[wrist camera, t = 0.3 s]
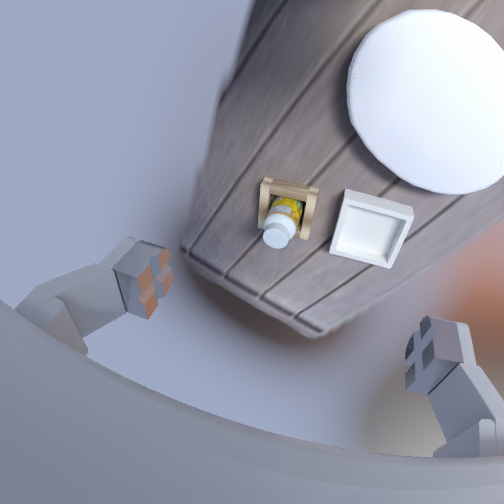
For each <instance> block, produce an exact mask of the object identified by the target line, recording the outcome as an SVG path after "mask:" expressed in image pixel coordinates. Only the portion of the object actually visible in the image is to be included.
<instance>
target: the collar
mask: <svg viewBox="0 0 504 504" xmlns="http://www.w3.org/2000/svg"><path fill="white" fill-rule="evenodd" d="M318 191H319V189H317V188H313V187H309V186H304V185H300V184H295V183H291V182H286V181H281V180H277V179H272V178H267V177H265V178H264V179H263V181H262V183H261V188H260V202H259V216H258V228H260V229H264V221H265V219H266V216H267V214H268V212H269V210H270V208H271V198H272V194H274V195H278V196H283V197H287V198H291V199H296V200H300V201H304V202H306V207H305V213H304V218H303V223H300V222H299V223H298V227H297V230H296V233H295V235H294V236H293V237H297V238H301V239H305V240H308V237H309V234H310V230H311V225H312V220H313V215H314V211H315V206H316V201H317V196H318Z"/></svg>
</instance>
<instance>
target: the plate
mask: <svg viewBox="0 0 504 504" xmlns="http://www.w3.org/2000/svg"><path fill="white" fill-rule="evenodd" d="M347 106H348V111H349V117H350V122H351V124H352V125H353V127H354V129H355V130H356V132H357V133H358V135H359V136H360V138H361V140H362V141H363V143H364V144H365V146H366V147H367V148H368V149H369V150H370V152H371V153H372V154H373V155H374V156H375V157H376V158H377V159H378V160H379V161H380V162H381V163H382V164H384V165H385V166H386V167H387V168H389V169H390V170H391V171H392V172H394V173H395V174H396V175H397V176H398V177H400V178H401V179H403V180H405V181H407V182H409V183H410V184H412V185H414V186H417V187H420V188H423V189H426V190H429V191H432V192H435V193H442V194H448V195H454V194H468V193H471V192H475V191H478V190H482V189H485V188H486V187H488V186H490V185H492V184H494V183H495V182H497V181H498V180H499V179H500V178H501V177H502V176H503V175H504V51H503V50H502V49H501V48H500V46H499V45H498V44H497V43H496V42H495V41H494V39H493V38H492V37H491V36H490V35H488V34H487V33H486V32H485V31H483V30H482V29H481V28H479V27H478V26H477V25H475V24H473V23H471V22H469V21H467V20H465V19H463V18H461V17H459V16H457V15H455V14H453V13H448V12H444V11H440V10H407V11H405V12H403V13H400V14H398V15H396V16H394V17H392V18H389V19H387V20H385V21H383V22H381V23H379V24H377V25H376V26H375V27H374V28H373V29H372V30H370V31H369V32H368V33H367V34H366V35H365V37H364V38H363V40H362V41H361V43H360V45H359V46H358V48H357V49H356V51H355V53H354V55H353V58H352V61H351V64H350V66H349V70H348V79H347Z"/></svg>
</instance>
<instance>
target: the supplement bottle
mask: <svg viewBox="0 0 504 504" xmlns="http://www.w3.org/2000/svg"><path fill="white" fill-rule="evenodd" d="M302 210H303V205H302V203H301V201H300V200H296V199H291V198H287V197H283V196H277V197H276V198H275V200H274V201H273V203H272V206H271V208H270V210H269V212H268V214H267V216H266V219H265V221H264V230H265V231H264V234H263V239H264V241H265V243H266V244H267V245H269V246H270V247H272V248H277V249H279V248H283V247H285V246H286V245H287V243H288V241H289V240H290V239H291V238H292V237H293V236H294V235H295V233H296V230H297V227H298V223H299V220H300V217H301V214H302Z"/></svg>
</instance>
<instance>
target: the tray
mask: <svg viewBox="0 0 504 504" xmlns="http://www.w3.org/2000/svg"><path fill="white" fill-rule="evenodd" d="M413 219H414V214H413V209H412V207H410V206H407V205H403V204H400V203H397V202H393V201H390V200H386V199H383V198H379V197H376V196H372V195H368V194H365V193H361V192H357V191H353V190H349V189H345V192H344V196H343V200H342V204H341V208H340V211H339V215H338V219H337V222H336V226H335V230H334V233H333V237H332V240H331V245H330V250H329V253H331V254H335V255H339V256H343V257H347V258H351V259H355V260H358V261H362V262H366V263H370V264H374V265H378V266H381V267H385V268H389V269H391V267H392V265H393V263H394V261H395V258H396V256H397V254H398V252H399V250H400V248H401V246H402V244H403V241H404V239H405V237H406V235H407V233H408V230H409V228H410V226H411V224H412V221H413Z"/></svg>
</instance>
